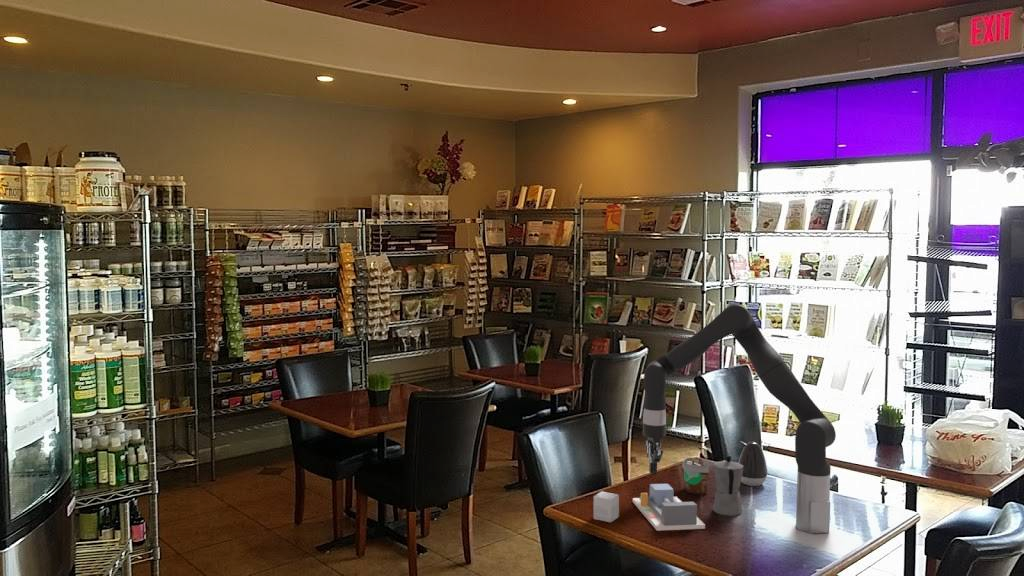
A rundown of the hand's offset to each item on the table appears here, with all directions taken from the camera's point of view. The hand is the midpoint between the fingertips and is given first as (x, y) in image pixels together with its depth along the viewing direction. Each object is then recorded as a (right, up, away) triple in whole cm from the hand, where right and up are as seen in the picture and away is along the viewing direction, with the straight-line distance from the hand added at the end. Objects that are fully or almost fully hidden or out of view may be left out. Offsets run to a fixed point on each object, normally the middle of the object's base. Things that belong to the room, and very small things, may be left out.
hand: (653, 472), depth 265 cm
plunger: (-1, -8, -11) cm, 14 cm away
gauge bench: (+2, -10, -15) cm, 18 cm away
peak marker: (-5, -8, -11) cm, 14 cm away
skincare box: (-18, -10, -18) cm, 27 cm away
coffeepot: (+22, -10, -12) cm, 27 cm away
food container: (+15, -9, +9) cm, 20 cm away
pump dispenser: (+38, -8, +17) cm, 43 cm away
